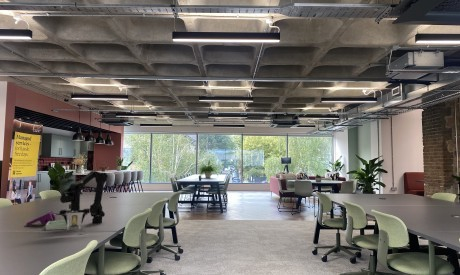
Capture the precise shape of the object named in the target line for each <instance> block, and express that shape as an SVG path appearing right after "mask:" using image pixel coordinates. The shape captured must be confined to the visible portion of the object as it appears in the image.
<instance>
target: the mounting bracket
mask: <svg viewBox="0 0 460 275" xmlns="http://www.w3.org/2000/svg"><path fill="white" fill-rule="evenodd" d="M56 218H57V217H56V216H55V213H54V212H53V211H52V210H51V211H49V212H47V213H45V214H43V215H40V216H38V217H36V218H34V219H32V220H30V221H28V222H26V223H25V225H26V226H27V227H28V226H31V225H33V224H35V223H37V222H40V224H41V225H42V227H43V226H44V227H46V224H47V223H48V222H49V221H56Z"/></svg>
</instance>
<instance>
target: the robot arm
mask: <svg viewBox="0 0 460 275" xmlns="http://www.w3.org/2000/svg"><path fill="white" fill-rule="evenodd" d="M94 178H95V180H94V181H95V182H96V187H95V193H94V200H93V203H92V204H90V205H89V208H88V207H87V208H83V209H81V205H80V204H81V195H83V192H82V191H83V189H84V188H85V186H86V184H88V183H89V182H91V181H92V180H93V179H94ZM107 181H108V173H106V172H100V171H98V170H97V171H96V170H91V171H90V172H88V173H87V174H86V175H85V176H84V177H82V178H81V179H79V180H78V181H74V182H72V183H71V184H70V185H69V187H68V189H67V190H66V192H63V193H62V194H61V196H60V197H59V198H60V199H59V200H60V203H62V204H67V203H69V204H68V210H67V208H66V209H60V210H59V213H58V214H59V215H60V216H61V217H63V219H64V220H65V221H66V224H68V221H67V220H68V214H77V213H78V214H81V213H82V217H81V221H80V222H81V224H83V222H84V219H85V217H86V216H87V215H88V214H90V216H91V217H92V219H91V222H92V224H96V225H97V224H102V223H103V218H104V217H105V215H106V212H104V211H103V206H102V196H103V193H104V192H103V191H104V186H105V183H106V182H107Z"/></svg>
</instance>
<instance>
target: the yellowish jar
mask: <svg viewBox="0 0 460 275" xmlns="http://www.w3.org/2000/svg"><path fill="white" fill-rule="evenodd" d="M77 225H78V214H72V215H71V227H77Z"/></svg>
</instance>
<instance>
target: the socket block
mask: <svg viewBox="0 0 460 275" xmlns="http://www.w3.org/2000/svg"><path fill="white" fill-rule="evenodd" d="M81 227H82V226H80V224H77V227H71V225H70V224H69V226H68V228H67V231H70V230H71V231H72V230H81Z"/></svg>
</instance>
